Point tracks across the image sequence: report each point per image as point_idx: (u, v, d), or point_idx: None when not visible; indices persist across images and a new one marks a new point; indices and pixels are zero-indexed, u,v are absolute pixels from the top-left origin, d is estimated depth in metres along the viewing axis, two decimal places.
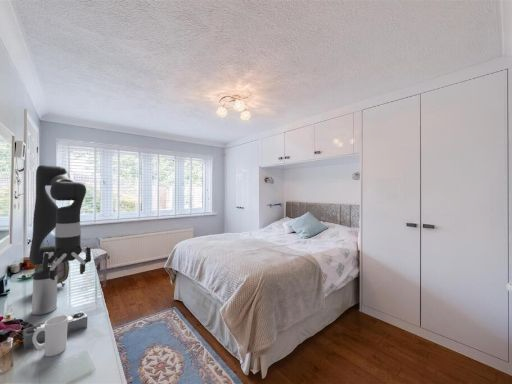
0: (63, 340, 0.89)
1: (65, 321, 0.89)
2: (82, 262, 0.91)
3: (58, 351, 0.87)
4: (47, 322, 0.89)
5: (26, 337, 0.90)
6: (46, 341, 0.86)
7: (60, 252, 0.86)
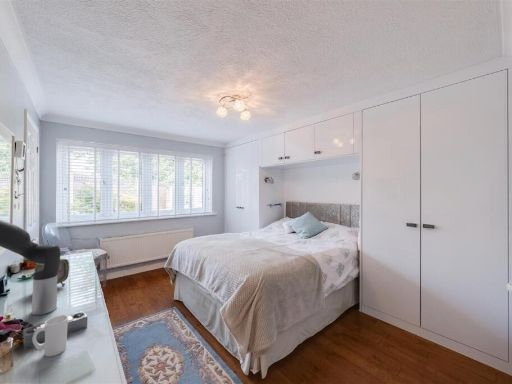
0: (63, 340, 0.89)
1: (65, 321, 0.89)
2: None
3: (58, 351, 0.87)
4: (47, 322, 0.89)
5: (26, 337, 0.90)
6: (46, 341, 0.86)
7: None
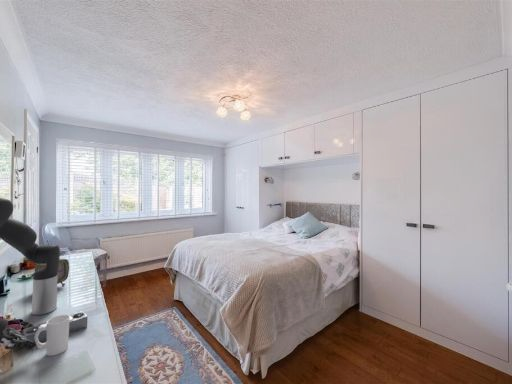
0: (64, 339, 0.89)
1: (67, 320, 0.90)
2: None
3: (60, 350, 0.88)
4: (49, 321, 0.89)
5: (26, 337, 0.90)
6: (48, 340, 0.86)
7: None
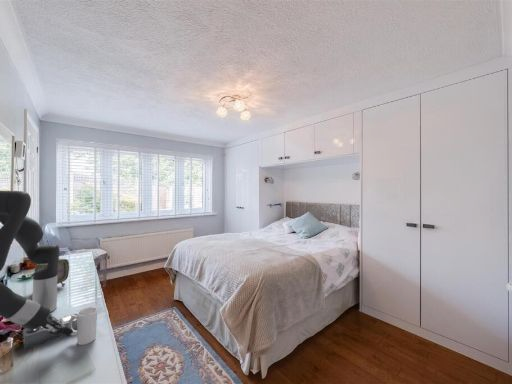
0: (90, 332, 0.94)
1: (92, 314, 0.94)
2: None
3: (85, 342, 0.93)
4: (81, 311, 0.97)
5: (26, 337, 0.90)
6: (77, 329, 0.94)
7: None
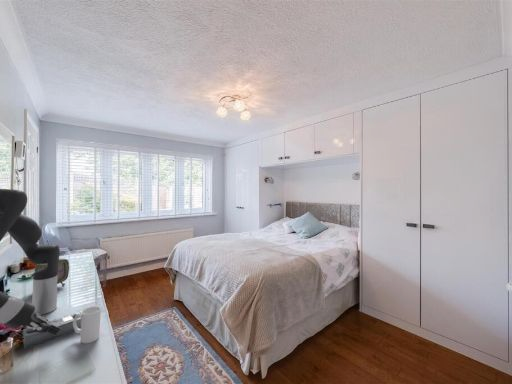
0: (92, 331, 0.95)
1: (95, 314, 0.95)
2: None
3: (88, 340, 0.94)
4: (86, 310, 0.98)
5: (26, 337, 0.90)
6: None
7: None
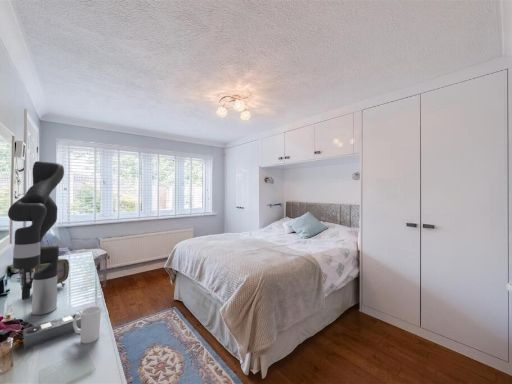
0: (92, 331, 0.95)
1: (95, 314, 0.95)
2: (21, 287, 0.89)
3: (88, 340, 0.94)
4: (86, 310, 0.98)
5: (26, 337, 0.90)
6: None
7: None
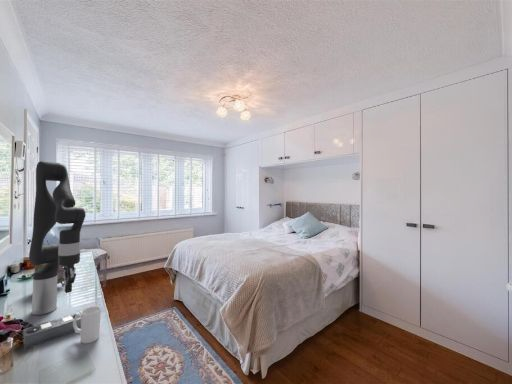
0: (92, 331, 0.95)
1: (95, 314, 0.95)
2: (65, 282, 1.01)
3: (88, 340, 0.94)
4: (86, 310, 0.98)
5: (26, 337, 0.90)
6: None
7: None
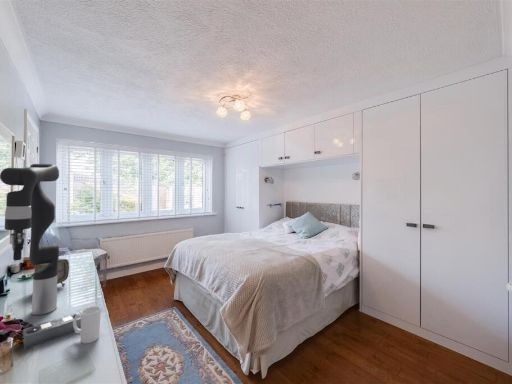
0: (92, 331, 0.95)
1: (95, 314, 0.95)
2: (13, 248, 0.93)
3: (88, 340, 0.94)
4: (86, 310, 0.98)
5: (26, 337, 0.90)
6: None
7: (13, 231, 0.95)
